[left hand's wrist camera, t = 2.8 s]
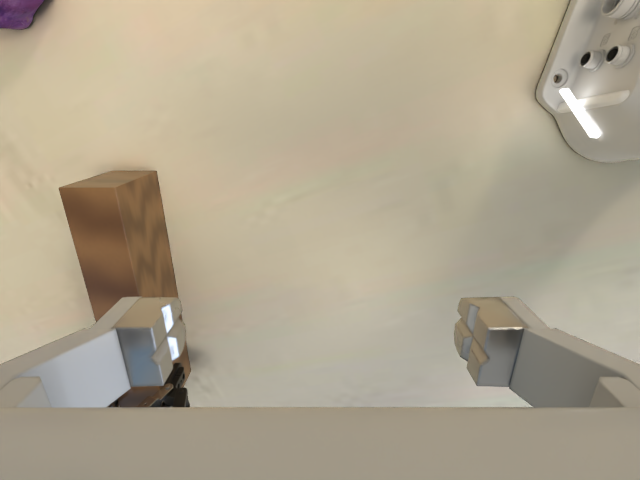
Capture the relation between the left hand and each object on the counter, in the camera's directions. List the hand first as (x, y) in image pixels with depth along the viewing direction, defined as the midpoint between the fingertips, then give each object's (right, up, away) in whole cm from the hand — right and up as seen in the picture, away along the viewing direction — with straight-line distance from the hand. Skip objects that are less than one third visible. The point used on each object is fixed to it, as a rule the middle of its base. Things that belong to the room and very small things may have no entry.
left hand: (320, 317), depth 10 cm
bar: (-20, -3, +33) cm, 39 cm away
